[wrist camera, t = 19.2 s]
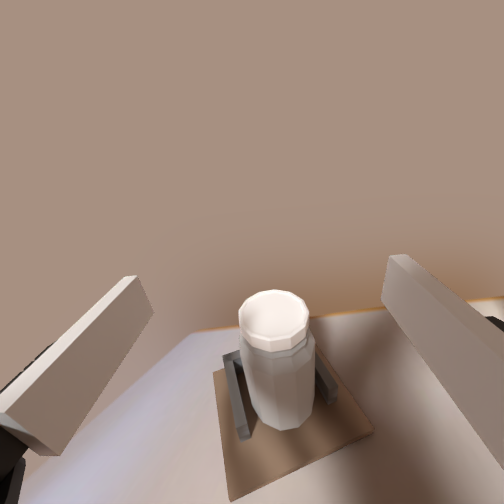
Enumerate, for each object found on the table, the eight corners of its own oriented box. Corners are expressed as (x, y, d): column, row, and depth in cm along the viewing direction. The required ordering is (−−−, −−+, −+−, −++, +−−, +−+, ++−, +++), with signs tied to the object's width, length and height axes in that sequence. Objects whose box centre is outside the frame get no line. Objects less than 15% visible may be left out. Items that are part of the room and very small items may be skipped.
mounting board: (311, 341, 42) (311, 322, 40) (373, 432, 28) (378, 412, 26) (214, 376, 38) (207, 358, 36) (230, 502, 25) (222, 485, 22)
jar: (311, 369, 36) (311, 285, 28) (318, 439, 28) (320, 348, 19) (256, 365, 38) (241, 285, 30) (246, 429, 30) (221, 343, 21)
